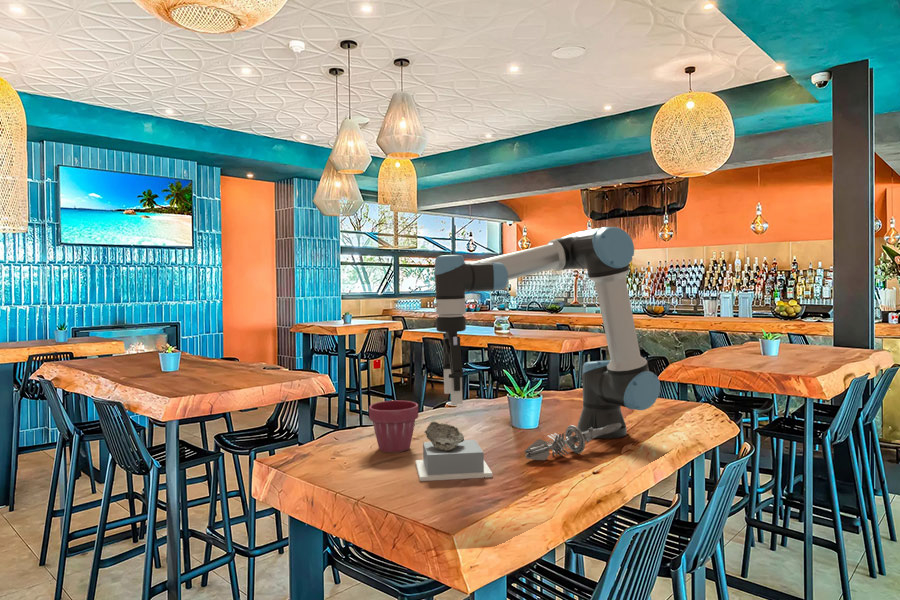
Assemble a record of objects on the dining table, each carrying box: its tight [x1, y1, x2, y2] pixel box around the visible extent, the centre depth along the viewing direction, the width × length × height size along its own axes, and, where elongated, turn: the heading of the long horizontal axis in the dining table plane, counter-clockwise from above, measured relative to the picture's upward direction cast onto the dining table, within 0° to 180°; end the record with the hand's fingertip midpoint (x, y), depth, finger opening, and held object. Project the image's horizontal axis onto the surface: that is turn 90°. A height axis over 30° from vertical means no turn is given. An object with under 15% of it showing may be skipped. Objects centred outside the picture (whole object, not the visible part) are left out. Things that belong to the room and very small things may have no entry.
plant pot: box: [368, 399, 419, 453], centre depth 172 cm, size 14×14×13 cm
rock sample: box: [423, 420, 465, 451], centre depth 150 cm, size 11×8×9 cm
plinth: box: [415, 439, 494, 482], centre depth 151 cm, size 18×14×6 cm
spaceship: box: [523, 423, 622, 461], centre depth 165 cm, size 8×35×8 cm
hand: (453, 398), depth 151 cm, fingers open, 13 cm apart
